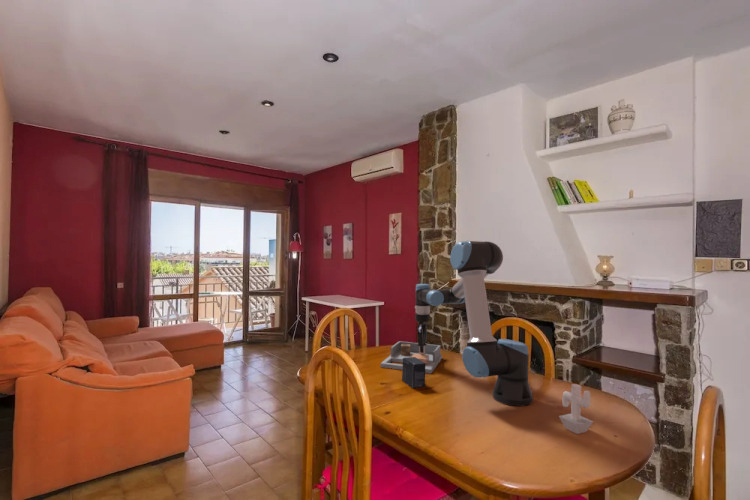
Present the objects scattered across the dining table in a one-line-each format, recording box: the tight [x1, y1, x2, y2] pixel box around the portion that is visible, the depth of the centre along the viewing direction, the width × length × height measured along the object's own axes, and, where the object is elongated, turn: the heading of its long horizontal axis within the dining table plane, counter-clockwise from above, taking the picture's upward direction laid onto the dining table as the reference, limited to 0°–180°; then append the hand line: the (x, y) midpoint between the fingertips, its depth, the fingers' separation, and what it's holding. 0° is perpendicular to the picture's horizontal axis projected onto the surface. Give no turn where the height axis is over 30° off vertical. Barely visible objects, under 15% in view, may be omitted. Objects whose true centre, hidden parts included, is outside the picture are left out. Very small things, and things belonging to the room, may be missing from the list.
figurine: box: [558, 383, 594, 435], centre depth 123 cm, size 7×9×15 cm
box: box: [401, 357, 426, 389], centre depth 165 cm, size 11×7×10 cm, turn 22°
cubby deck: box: [380, 340, 443, 374], centre depth 196 cm, size 26×28×7 cm
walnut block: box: [401, 344, 410, 356], centre depth 205 cm, size 5×5×5 cm
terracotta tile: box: [411, 354, 429, 365], centre depth 190 cm, size 8×8×3 cm
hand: (422, 358), depth 194 cm, fingers closed
